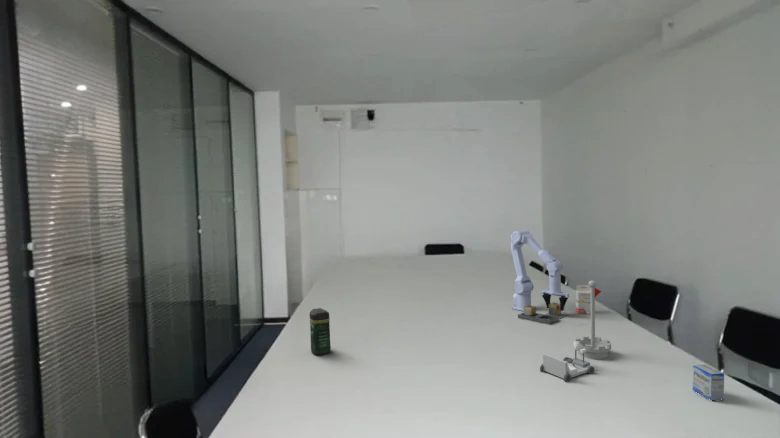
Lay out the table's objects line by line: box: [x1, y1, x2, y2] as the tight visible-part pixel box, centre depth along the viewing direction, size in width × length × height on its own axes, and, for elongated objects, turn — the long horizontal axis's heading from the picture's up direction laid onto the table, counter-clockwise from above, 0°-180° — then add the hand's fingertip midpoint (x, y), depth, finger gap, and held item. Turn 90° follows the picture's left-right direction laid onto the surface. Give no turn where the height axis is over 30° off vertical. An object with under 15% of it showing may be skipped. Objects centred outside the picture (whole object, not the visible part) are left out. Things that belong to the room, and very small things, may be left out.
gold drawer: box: [523, 304, 537, 317], centre depth 240 cm, size 4×5×6 cm
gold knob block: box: [548, 302, 562, 317], centre depth 242 cm, size 4×5×6 cm
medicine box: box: [692, 364, 725, 401], centre depth 146 cm, size 8×4×9 cm, turn 5°
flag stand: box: [575, 280, 612, 360], centre depth 185 cm, size 13×13×30 cm
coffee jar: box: [309, 307, 332, 355], centre depth 199 cm, size 10×8×19 cm
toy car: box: [539, 340, 595, 383], centre depth 169 cm, size 18×10×12 cm
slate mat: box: [544, 312, 568, 320], centre depth 242 cm, size 9×9×1 cm
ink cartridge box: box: [575, 284, 591, 315], centre depth 245 cm, size 9×5×15 cm, turn 84°
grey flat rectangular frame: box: [517, 312, 560, 325], centre depth 237 cm, size 18×9×2 cm, turn 42°
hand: (555, 309), depth 242 cm, fingers open, 7 cm apart
